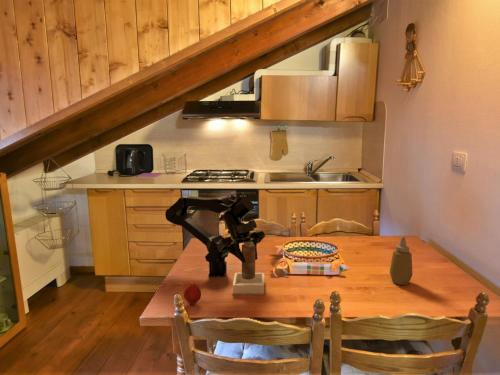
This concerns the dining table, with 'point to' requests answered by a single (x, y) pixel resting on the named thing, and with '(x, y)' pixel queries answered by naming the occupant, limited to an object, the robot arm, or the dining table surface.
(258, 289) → the tray
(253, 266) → the pepper mill
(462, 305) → the dining table surface
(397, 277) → the squeeze bottle
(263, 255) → the dining table surface
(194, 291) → the onion
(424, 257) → the dining table surface
